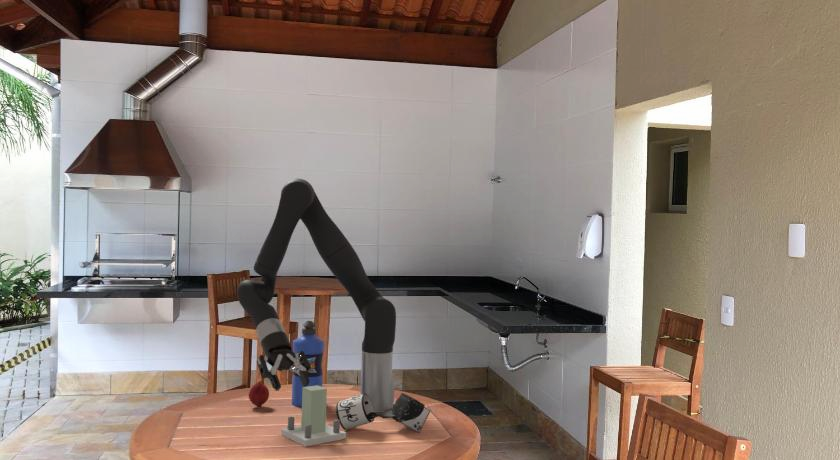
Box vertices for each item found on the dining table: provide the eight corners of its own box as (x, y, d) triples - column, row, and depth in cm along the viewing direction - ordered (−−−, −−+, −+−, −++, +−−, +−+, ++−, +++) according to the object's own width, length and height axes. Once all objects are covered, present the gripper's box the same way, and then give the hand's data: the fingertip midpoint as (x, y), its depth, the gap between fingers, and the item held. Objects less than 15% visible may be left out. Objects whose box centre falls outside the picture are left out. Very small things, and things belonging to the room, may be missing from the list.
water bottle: (319, 408, 217) (322, 323, 217) (288, 407, 217) (291, 322, 217) (324, 400, 226) (326, 319, 226) (294, 399, 227) (296, 318, 226)
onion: (263, 410, 213) (264, 382, 213) (245, 408, 214) (246, 381, 214) (271, 405, 218) (272, 378, 218) (253, 404, 219) (254, 377, 219)
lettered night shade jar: (335, 436, 190) (336, 397, 190) (335, 425, 200) (336, 389, 200) (432, 435, 193) (433, 398, 193) (427, 425, 203) (428, 389, 203)
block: (316, 427, 192) (317, 385, 192) (325, 431, 188) (326, 388, 188) (301, 429, 189) (302, 387, 189) (310, 434, 186) (311, 390, 185)
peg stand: (320, 427, 197) (321, 410, 197) (345, 438, 188) (346, 421, 188) (281, 434, 189) (281, 417, 189) (305, 446, 180) (305, 428, 180)
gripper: (254, 332, 199) (274, 382, 190) (300, 328, 208) (321, 376, 199) (245, 348, 203) (263, 398, 194) (290, 344, 212) (310, 391, 204)
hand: (292, 387), depth 197 cm, fingers open, 8 cm apart
